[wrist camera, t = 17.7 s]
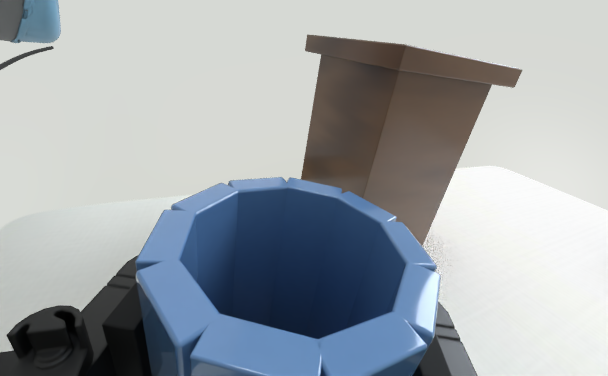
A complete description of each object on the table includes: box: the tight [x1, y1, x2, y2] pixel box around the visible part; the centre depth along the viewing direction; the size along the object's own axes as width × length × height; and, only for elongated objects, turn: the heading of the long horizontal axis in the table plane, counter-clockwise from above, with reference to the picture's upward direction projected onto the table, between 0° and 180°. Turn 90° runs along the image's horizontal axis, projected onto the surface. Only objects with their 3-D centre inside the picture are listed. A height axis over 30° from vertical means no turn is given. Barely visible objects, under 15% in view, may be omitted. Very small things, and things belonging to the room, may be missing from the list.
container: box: [135, 177, 441, 376], centre depth 9 cm, size 7×7×9 cm
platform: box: [301, 35, 522, 246], centre depth 24 cm, size 11×11×16 cm
